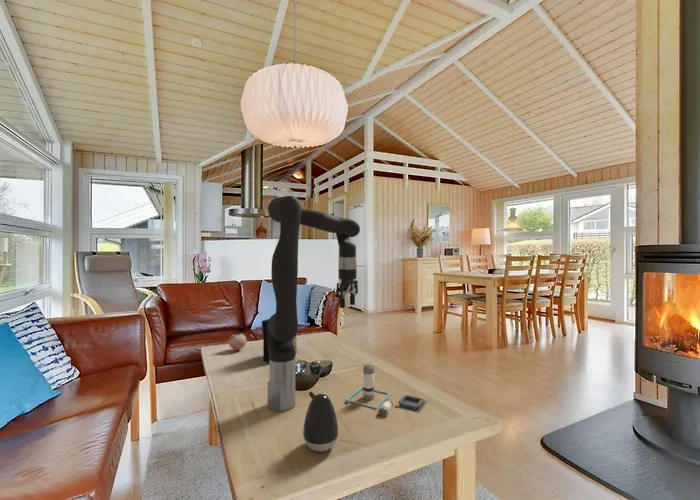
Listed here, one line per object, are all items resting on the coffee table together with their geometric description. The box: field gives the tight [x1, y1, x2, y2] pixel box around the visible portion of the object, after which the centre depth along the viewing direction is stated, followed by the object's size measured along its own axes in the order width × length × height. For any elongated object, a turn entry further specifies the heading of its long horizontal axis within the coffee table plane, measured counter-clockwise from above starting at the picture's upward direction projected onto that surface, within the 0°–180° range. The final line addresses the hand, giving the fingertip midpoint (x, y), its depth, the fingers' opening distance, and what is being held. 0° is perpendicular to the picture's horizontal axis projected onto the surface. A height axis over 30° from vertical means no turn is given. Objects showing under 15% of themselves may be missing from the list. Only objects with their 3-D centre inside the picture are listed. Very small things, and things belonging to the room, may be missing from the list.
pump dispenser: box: [302, 391, 339, 453], centre depth 100 cm, size 10×10×15 cm
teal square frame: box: [344, 386, 392, 410], centre depth 129 cm, size 14×13×2 cm
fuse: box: [377, 398, 394, 417], centre depth 119 cm, size 8×3×3 cm, turn 159°
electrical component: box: [260, 318, 299, 363], centre depth 177 cm, size 18×10×20 cm, turn 148°
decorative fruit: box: [228, 332, 247, 351], centre depth 187 cm, size 9×8×10 cm
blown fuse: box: [362, 364, 375, 401], centre depth 129 cm, size 4×4×12 cm
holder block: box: [394, 393, 428, 414], centre depth 124 cm, size 10×9×2 cm
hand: (347, 306), depth 145 cm, fingers open, 8 cm apart
